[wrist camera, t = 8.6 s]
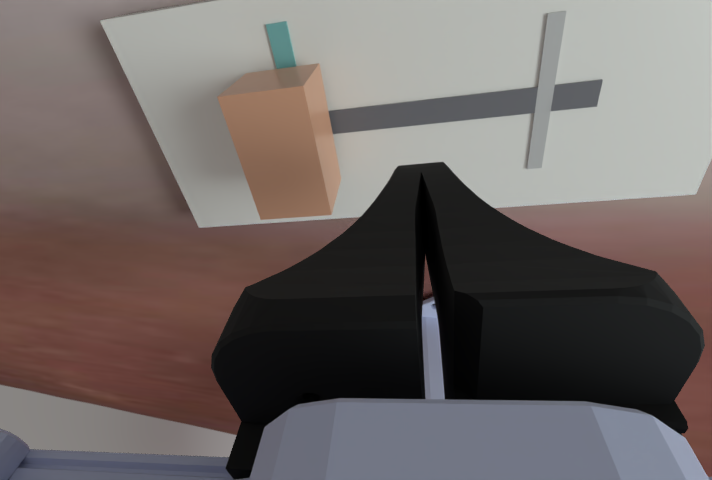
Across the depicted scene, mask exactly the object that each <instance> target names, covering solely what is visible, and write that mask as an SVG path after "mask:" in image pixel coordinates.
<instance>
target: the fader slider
mask: <svg viewBox="0 0 712 480" xmlns="http://www.w3.org/2000/svg"><path fill="white" fill-rule="evenodd" d="M217 98H218V101H219V104H220V107H221V109H222V112H223V115H224V118H225V121H226V123H227V126H228V129H229V132H230V135H231V138H232V140H233V143H234V146H235V149H236V152H237V154H238V157H239V160H240V163H241V166H242V168H243V171H244V174H245V177H246V180H247V183H248V185H249V188H250V191H251V194H252V197H253V199H254V202H255V205H256V208H257V211H258V214H259V216H260V219H261V220H266V219H281V218H295V217H310V216H324V215H332V212H333V208H334V204H335V200H336V197H337V193H338V189H339V185H340V182H341V175H340V169H339V164H338V159H337V154H336V148H335V143H334V138H333V132H332V127H331V122H330V117H329V111H328V106H327V101H326V95H325V90H324V85H323V80H322V74H321V69H320V64H319V63H317V64H310V65H303V66H295V67H288V68H281V69H274V70H266V71H259V72H252V73H246V74H245V75H243V76H242V77H241V78H240V79H238V80H237V81H236V82H235V83H234V84H232V85H231V86H230V87H229V88H227V89H226V90H225V91H224V92H222V93H221V94H220V95H219V96H218V97H217Z"/></svg>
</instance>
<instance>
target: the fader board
mask: <svg viewBox="0 0 712 480" xmlns="http://www.w3.org/2000/svg"><path fill="white" fill-rule="evenodd" d="M100 22H101V24H102V26H103V28H104V30H105V32H106V35H107V37H108V39H109V41H110V43H111V45H112V47H113V49H114V51H115V53H116V55H117V58H118V60H119V62H120V64H121V66H122V68H123V70H124V72H125V74H126V76H127V78H128V80H129V83H130V85H131V87H132V89H133V91H134V93H135V95H136V97H137V99H138V101H139V103H140V106H141V108H142V110H143V112H144V114H145V116H146V118H147V120H148V122H149V124H150V126H151V128H152V131H153V133H154V135H155V137H156V139H157V141H158V143H159V145H160V147H161V149H162V151H163V154H164V156H165V158H166V160H167V162H168V164H169V166H170V168H171V170H172V172H173V174H174V177H175V179H176V181H177V183H178V185H179V187H180V189H181V191H182V193H183V195H184V197H185V199H186V202H187V204H188V206H189V208H190V210H191V212H192V214H193V216H194V218H195V220H196V222H197V225H198V227H199V228H202V227H217V226H232V225H247V224H262V223H277V222H292V221H307V220H322V219H337V218H352V217H361V216H362V215H363V214H364V212H365V211H366V210H367V209H368V208H369V207H370V205H371V204H372V203H373V202H374V201H375V199H376V198H377V197H378V195H379V194H380V192H381V191H382V190H383V188H384V187H385V185H386V184H387V182H388V181H389V179H390V177H391V176H392V174H393V172H394V170H395V169H396V168H397V167H398V166H400V165H411V164H423V163H434V162H444V163H445V164H446V165H447V166H448V167H449V168H450V169H451V170H452V172H453V173H454V174H455V175H456V176H457V177H458V178H459V179H460V180H461V181H462V182H463V183H464V184H465V185H466V186H467V187H468V188H469V189H470V190H471V191H473V192H474V193H475V194H476V195H477V196H478V197H479V198H481V199H482V200H483V201H485V202H486V203H487V204H489V205H490V206H491V207H493V208H501V207H516V206H531V205H546V204H561V203H576V202H591V201H605V200H620V199H635V198H650V197H665V196H680V195H695V194H696V193H697V190H698V188H699V186H700V183H701V181H702V179H703V177H704V174H705V172H706V170H707V168H708V165H709V163H710V161H711V159H712V0H206V1H201V2H195V3H189V4H183V5H178V6H172V7H166V8H160V9H155V10H149V11H143V12H137V13H132V14H126V15H121V16H117V17H113V18H109V19H105V20H101V21H100ZM317 63H319V64H320V69H321V74H322V80H323V85H324V90H325V95H326V101H327V106H328V111H329V117H330V122H331V127H332V132H333V138H334V143H335V148H336V154H337V159H338V164H339V169H340V175H341V182H340V185H339V189H338V193H337V197H336V200H335V204H334V208H333V212H332V215H324V216H310V217H295V218H281V219H266V220H261V219H260V216H259V214H258V211H257V208H256V205H255V202H254V199H253V197H252V194H251V191H250V188H249V185H248V183H247V180H246V177H245V174H244V171H243V168H242V166H241V163H240V160H239V157H238V154H237V152H236V149H235V146H234V143H233V140H232V138H231V135H230V132H229V129H228V126H227V123H226V121H225V118H224V115H223V112H222V109H221V107H220V104H219V101H218V98H217V97H218V96H219V95H220V94H221V93H222V92H224V91H225V90H226V89H227V88H229V87H230V86H231V85H232V84H234V83H235V82H236V81H237V80H238V79H240V78H241V77H242V76H243V75H245V74H246V73H252V72H259V71H266V70H274V69H281V68H288V67H295V66H303V65H310V64H317Z"/></svg>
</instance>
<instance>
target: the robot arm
mask: <svg viewBox="0 0 712 480" xmlns="http://www.w3.org/2000/svg"><path fill="white" fill-rule="evenodd" d="M425 254H426V260H427V265H428V270H429V275H430V281H431V286H432V291H433V296H434V297H431V298H429V299H426V300H424V301H423V287H424V268H425ZM432 304H435V305H432ZM704 346H705V344H704V336H703V330H702V328H701V327H700V326H699V324H698V323H697V322H696V320H695V319H694V318H693V316H692V315H691V314H690V312H689V311H688V310H687V308H686V307H685V306H684V304H683V303H682V302H681V300H680V299H679V298H678V296H677V295H676V294H675V292H674V291H673V290H672V289H671V288H670V287H669V286H668V284H667V283H666V282H665V281H664V280H663V279H662V278H661V277H660V276H659V275H658V274H657V272H656V271H652V270H648V269H645V268H641V267H637V266H633V265H629V264H626V263H622V262H618V261H614V260H611V259H607V258H603V257H600V256H597V255H593V254H591V253H588V252H585V251H582V250H579V249H576V248H573V247H570V246H567V245H565V244H562V243H560V242H557V241H555V240H552V239H550V238H548V237H546V236H543V235H541V234H539V233H537V232H535V231H533V230H530V229H528V228H526V227H524V226H523V225H521V224H519V223H517V222H515V221H514V220H512V219H510V218H509V217H507V216H505V215H503V214H502V213H500V212H499V211H497V210H496V209H494V208H493V207H491V206H490V205H489V204H487V203H486V202H485V201H483V200H482V199H481V198H479V197H478V196H477V195H476V194H475V193H474V192H473V191H471V190H470V189H469V188H468V187H467V186H466V185H465V184H464V183H463V182H462V181H461V180H460V179H459V178H458V177H457V176H456V175H455V174H454V173H453V172H452V170H451V169H450V168H449V167H448V166H447V165H446V164H445V163H444V162H434V163H423V164H411V165H400V166H398V167H397V168H396V169H395V170H394V172H393V174H392V176H391V177H390V179H389V181H388V182H387V184H386V185H385V187H384V188H383V190H382V191H381V192H380V194H379V195H378V197H377V198H376V199H375V201H374V202H373V203H372V204H371V205H370V207H369V208H368V209H367V210H366V211H365V212H364V214H363V215H362V216H361V217H360V218H359V219H358V220H357V221H356V222H355V223H354V224H353V225H352V226H351V227H350V228H348V229H347V230H346V231H345V232H344V233H343V234H341V235H340V236H339V237H337V238H336V239H335V240H333V241H332V242H330V243H329V244H328V245H326V246H325V247H324V248H322V249H321V250H319V251H318V252H316V253H314V254H313V255H311V256H310V257H308V258H306V259H305V260H303V261H301V262H299V263H297V264H295V265H294V266H292V267H290V268H288V269H286V270H284V271H282V272H280V273H278V274H275V275H273V276H271V277H269V278H266V279H264V280H262V281H260V282H257V283H255V284H253V285H250V286H248V287H245V289H244V291H243V293H242V294H241V296H240V298H239V300H238V301H237V303H236V305H235V306H234V308H233V311H232V313H231V315H230V317H229V319H228V321H227V323H226V326H225V328H224V330H223V332H222V334H221V336H220V338H219V341H218V343H217V345H216V347H215V349H214V351H213V353H212V364H211V368H212V371H213V373H214V375H215V378H216V380H217V382H218V384H219V385H220V387H221V389H222V390H223V392H224V393H225V395H226V397H227V398H228V400H229V402H230V403H231V405H232V406H233V408H234V410H235V411H236V413H237V415H238V416H239V418H240V419H241V421H242V422H241V425H240V427H239V430H238V433H237V436H236V439H235V442H234V445H233V448H232V451H231V454H230V457H207V456H182V455H181V456H180V455H158V454H157V455H156V454H133V453H109V452H85V451H60V450H34V449H29V446H28V445H27V444H26V443H25V442H24V441H22V440H21V439H20V438H19V437H17V436H16V435H14V434H12V433H10V432H8V431H5V430H2V429H0V480H712V477H708V476H707V475H706V473H705V471H704V469H703V468H702V466H701V464H700V462H699V461H698V459H697V457H696V456H695V454H694V452H693V450H692V449H691V447H690V445H689V443H688V442H687V440H686V438H685V437H683V436H682V434H681V433H685V432H686V431H687V429H688V426H687V421H686V419H685V418H684V416H683V414H682V413H681V411H680V409H679V408H678V406H677V404H676V403H675V401H674V400H675V398H676V397H677V395H678V394H679V392H680V391H681V389H682V387H683V386H684V384H685V383H686V381H687V379H688V378H689V376H690V375H691V373H692V371H693V370H694V368H695V367H696V365H697V363H698V362H699V359H700V357H701V354H702V351H703V349H704Z"/></svg>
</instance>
